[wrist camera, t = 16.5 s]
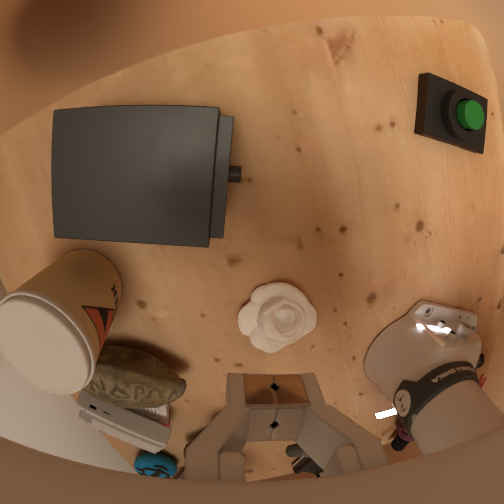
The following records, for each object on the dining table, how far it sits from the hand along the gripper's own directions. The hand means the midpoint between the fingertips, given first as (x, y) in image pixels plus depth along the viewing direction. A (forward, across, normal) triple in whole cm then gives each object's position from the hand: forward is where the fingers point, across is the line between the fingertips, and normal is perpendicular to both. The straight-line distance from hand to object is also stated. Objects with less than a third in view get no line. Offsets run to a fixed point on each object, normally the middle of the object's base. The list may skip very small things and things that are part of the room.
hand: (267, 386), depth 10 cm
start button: (+23, -26, -16) cm, 38 cm away
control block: (+27, -26, -16) cm, 41 cm away
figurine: (+24, -36, +45) cm, 63 cm away
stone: (+22, +14, +26) cm, 37 cm away
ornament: (+25, +10, +45) cm, 53 cm away
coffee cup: (+27, +18, +11) cm, 35 cm away
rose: (+27, -6, +13) cm, 31 cm away
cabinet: (+27, +10, -4) cm, 29 cm away
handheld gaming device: (+22, +9, +37) cm, 44 cm away
